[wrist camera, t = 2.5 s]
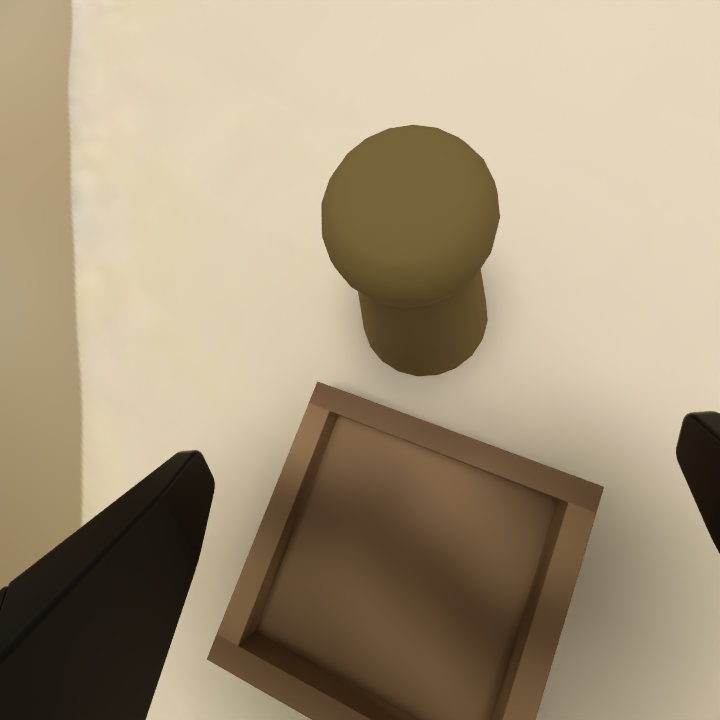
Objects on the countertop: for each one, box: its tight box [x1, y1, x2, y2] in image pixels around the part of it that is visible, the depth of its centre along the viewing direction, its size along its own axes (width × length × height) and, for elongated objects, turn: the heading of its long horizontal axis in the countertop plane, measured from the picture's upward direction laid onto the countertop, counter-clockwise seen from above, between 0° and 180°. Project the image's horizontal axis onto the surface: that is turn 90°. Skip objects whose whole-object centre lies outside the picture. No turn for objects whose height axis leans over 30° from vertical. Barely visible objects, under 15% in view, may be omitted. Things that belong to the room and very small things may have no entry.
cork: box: [322, 125, 500, 376], centre depth 17 cm, size 6×6×11 cm
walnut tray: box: [207, 382, 604, 720], centre depth 19 cm, size 12×12×2 cm
